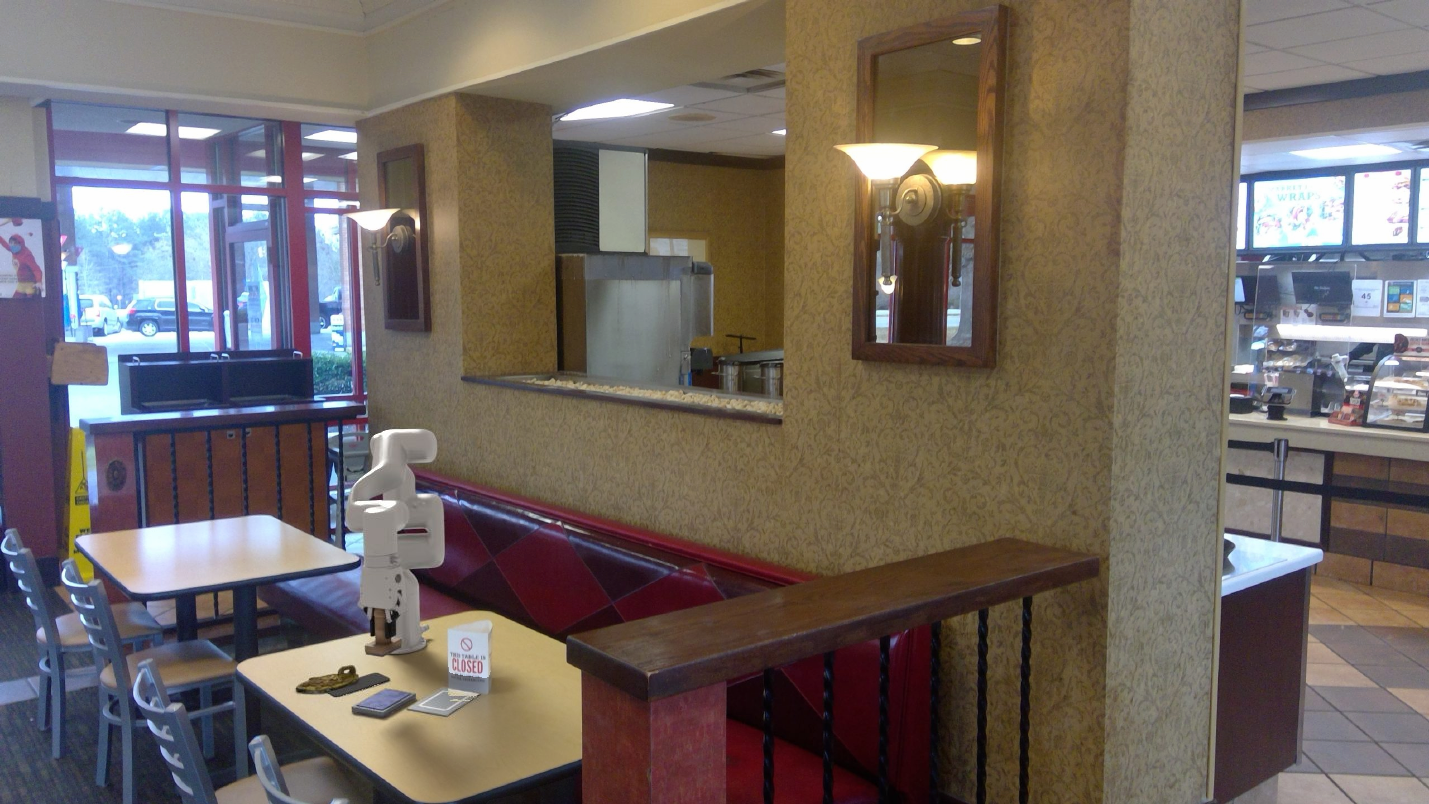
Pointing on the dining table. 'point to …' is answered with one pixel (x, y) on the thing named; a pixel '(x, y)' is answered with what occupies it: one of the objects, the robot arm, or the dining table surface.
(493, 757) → the dining table surface
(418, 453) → the robot arm
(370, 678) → the phone
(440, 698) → the stamp card
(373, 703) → the ink pad
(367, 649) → the stamp
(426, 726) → the dining table surface
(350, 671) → the brass ornament
